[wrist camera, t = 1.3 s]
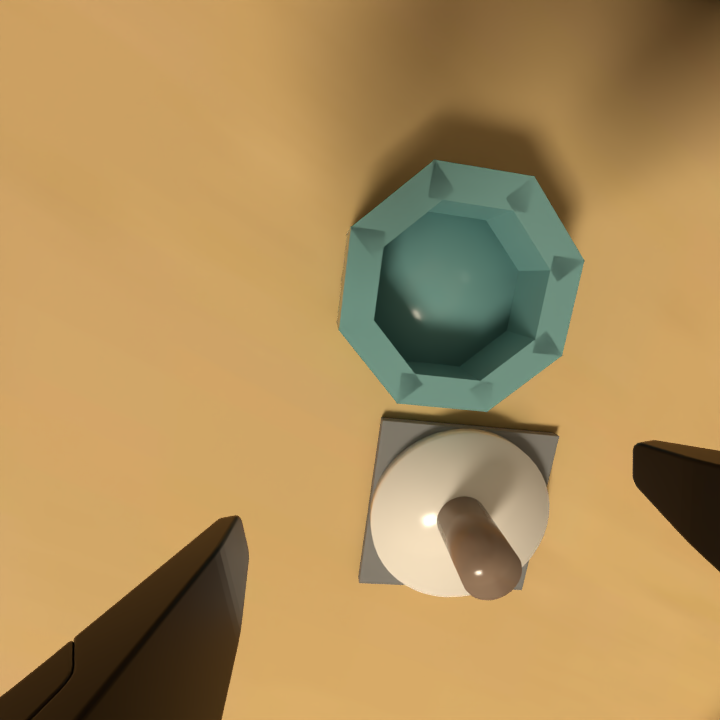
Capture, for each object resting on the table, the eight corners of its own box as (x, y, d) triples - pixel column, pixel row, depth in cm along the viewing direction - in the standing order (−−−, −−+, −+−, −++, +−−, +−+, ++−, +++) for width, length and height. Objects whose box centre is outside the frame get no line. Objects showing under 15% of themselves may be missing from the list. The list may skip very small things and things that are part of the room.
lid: (558, 436, 22) (622, 480, 17) (521, 589, 24) (569, 666, 19) (382, 420, 21) (399, 462, 16) (359, 582, 23) (367, 662, 18)
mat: (553, 432, 22) (558, 436, 22) (517, 583, 24) (521, 589, 24) (381, 417, 21) (382, 420, 21) (358, 576, 23) (359, 582, 23)
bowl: (552, 202, 20) (601, 186, 16) (511, 394, 22) (547, 417, 18) (353, 171, 18) (359, 146, 15) (329, 376, 20) (330, 397, 17)
